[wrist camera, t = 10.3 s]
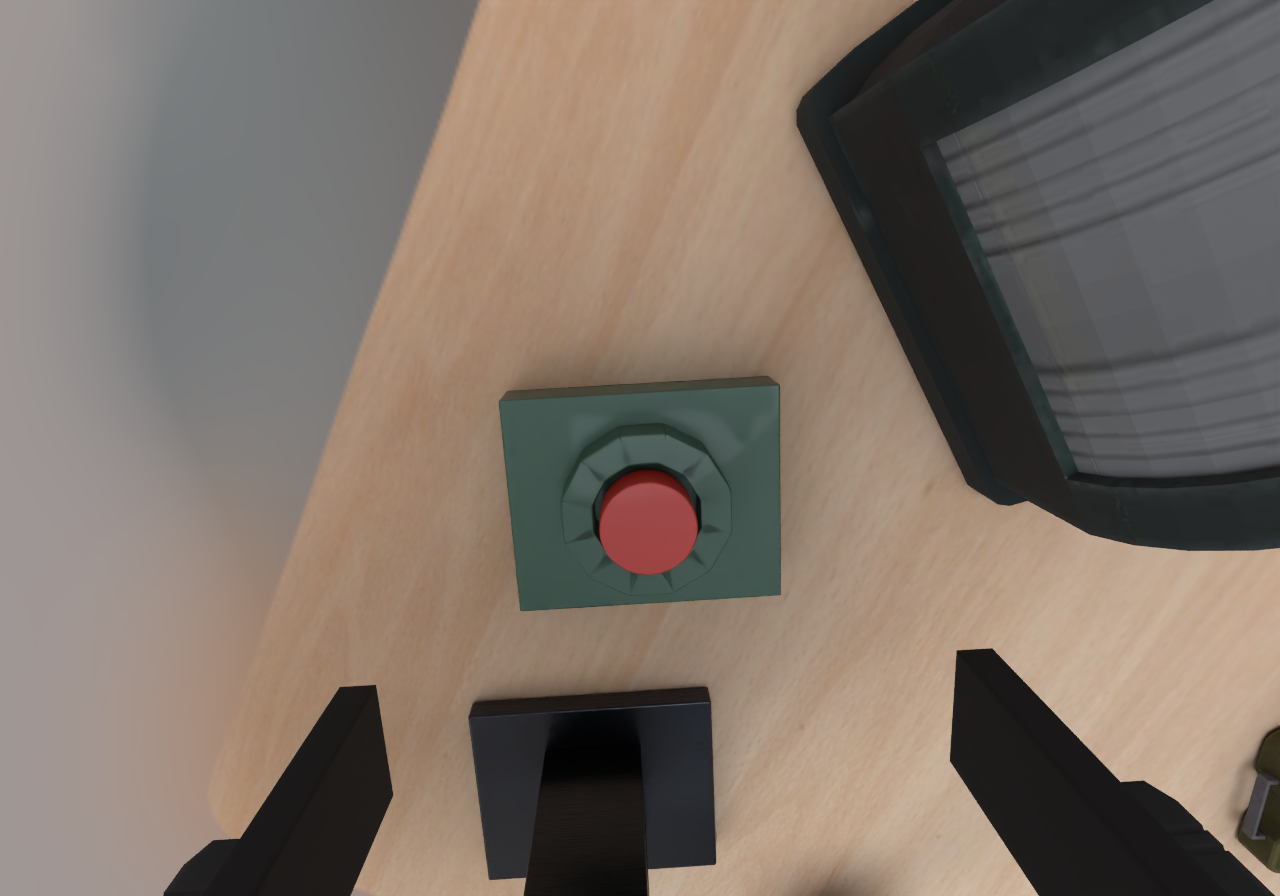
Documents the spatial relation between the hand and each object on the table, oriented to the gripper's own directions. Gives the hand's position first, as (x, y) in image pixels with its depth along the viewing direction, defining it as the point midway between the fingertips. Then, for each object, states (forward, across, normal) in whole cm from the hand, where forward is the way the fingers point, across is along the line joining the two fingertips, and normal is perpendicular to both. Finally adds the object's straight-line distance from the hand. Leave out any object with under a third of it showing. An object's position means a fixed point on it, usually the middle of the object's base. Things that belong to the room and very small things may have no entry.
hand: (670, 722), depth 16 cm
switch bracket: (+17, -3, -14) cm, 22 cm away
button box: (+17, 0, 0) cm, 17 cm away
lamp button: (+13, 0, 0) cm, 13 cm away
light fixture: (+17, +18, +11) cm, 27 cm away
